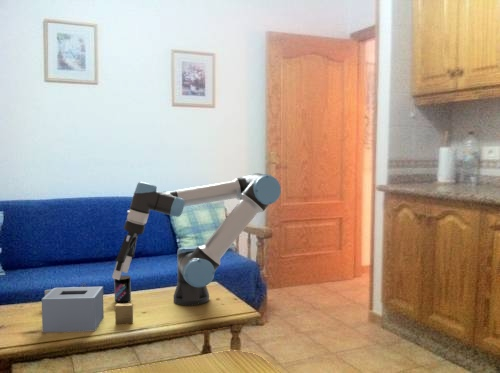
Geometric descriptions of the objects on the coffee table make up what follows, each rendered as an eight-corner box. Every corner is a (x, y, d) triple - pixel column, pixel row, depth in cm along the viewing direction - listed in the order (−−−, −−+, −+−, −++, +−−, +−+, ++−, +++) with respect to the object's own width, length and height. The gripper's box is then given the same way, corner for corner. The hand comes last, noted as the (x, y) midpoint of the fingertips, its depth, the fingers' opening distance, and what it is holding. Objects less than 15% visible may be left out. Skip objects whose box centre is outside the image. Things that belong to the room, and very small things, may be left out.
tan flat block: (133, 321, 177) (132, 303, 177) (132, 324, 175) (131, 305, 174) (116, 322, 176) (116, 303, 176) (115, 324, 174) (115, 306, 173)
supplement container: (112, 300, 202) (112, 276, 201) (127, 298, 206) (127, 274, 205) (117, 304, 196) (117, 280, 195) (133, 302, 200) (132, 277, 199)
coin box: (103, 317, 182) (102, 286, 181) (95, 330, 168) (94, 297, 167) (55, 318, 180) (54, 287, 179) (42, 332, 166) (41, 299, 165)
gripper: (133, 217, 193) (118, 267, 192) (118, 221, 168) (101, 279, 168) (150, 222, 193) (135, 272, 193) (139, 227, 168) (122, 284, 168)
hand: (119, 275), depth 180 cm, fingers open, 13 cm apart
